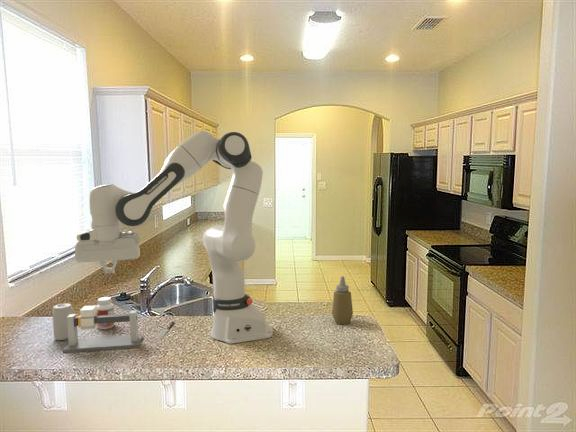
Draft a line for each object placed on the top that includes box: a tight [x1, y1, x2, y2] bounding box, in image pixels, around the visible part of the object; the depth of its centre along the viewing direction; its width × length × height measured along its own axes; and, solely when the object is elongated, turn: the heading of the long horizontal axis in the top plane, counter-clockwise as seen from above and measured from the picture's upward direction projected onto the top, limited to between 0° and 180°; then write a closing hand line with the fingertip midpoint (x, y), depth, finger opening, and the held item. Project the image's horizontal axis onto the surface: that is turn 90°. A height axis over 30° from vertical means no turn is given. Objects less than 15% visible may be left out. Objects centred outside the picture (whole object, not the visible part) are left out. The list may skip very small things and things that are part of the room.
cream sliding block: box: [79, 305, 98, 331], centre depth 148 cm, size 4×5×7 cm
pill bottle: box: [96, 296, 115, 330], centre depth 166 cm, size 6×6×11 cm
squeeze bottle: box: [331, 275, 354, 325], centre depth 167 cm, size 8×8×18 cm
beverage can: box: [51, 302, 74, 341], centre depth 155 cm, size 6×6×12 cm
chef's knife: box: [156, 321, 175, 342], centre depth 160 cm, size 19×1×3 cm
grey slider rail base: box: [62, 309, 144, 353], centre depth 149 cm, size 24×9×11 cm, turn 99°
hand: (109, 273), depth 147 cm, fingers closed
